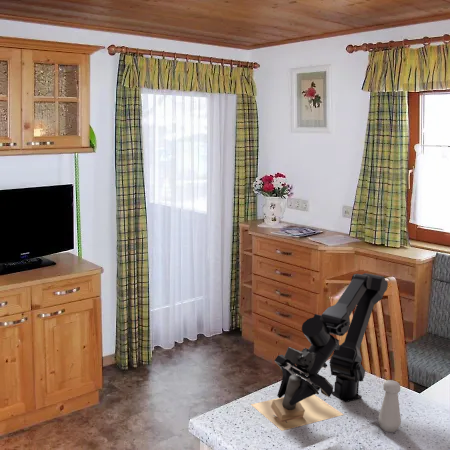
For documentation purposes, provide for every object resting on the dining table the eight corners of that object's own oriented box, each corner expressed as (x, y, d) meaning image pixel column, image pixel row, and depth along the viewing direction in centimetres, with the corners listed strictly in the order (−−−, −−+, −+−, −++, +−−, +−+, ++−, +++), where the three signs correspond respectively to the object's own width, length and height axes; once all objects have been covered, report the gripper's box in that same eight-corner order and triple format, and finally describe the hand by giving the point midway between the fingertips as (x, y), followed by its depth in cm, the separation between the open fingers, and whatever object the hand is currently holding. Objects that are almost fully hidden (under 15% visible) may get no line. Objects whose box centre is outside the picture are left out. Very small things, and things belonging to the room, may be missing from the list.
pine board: (309, 395, 173) (309, 391, 172) (343, 419, 159) (343, 414, 158) (250, 409, 163) (250, 404, 163) (281, 436, 149) (281, 430, 149)
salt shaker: (401, 435, 151) (404, 388, 149) (378, 432, 152) (381, 385, 150) (399, 424, 157) (402, 378, 155) (377, 421, 158) (380, 376, 156)
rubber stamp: (292, 402, 161) (302, 370, 156) (302, 416, 157) (312, 384, 152) (270, 407, 158) (279, 374, 153) (280, 422, 154) (289, 389, 149)
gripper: (281, 326, 161) (246, 371, 156) (327, 348, 145) (291, 399, 141) (301, 348, 166) (268, 393, 162) (348, 372, 151) (313, 422, 147)
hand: (284, 400), depth 153 cm, fingers closed on rubber stamp, 4 cm apart
